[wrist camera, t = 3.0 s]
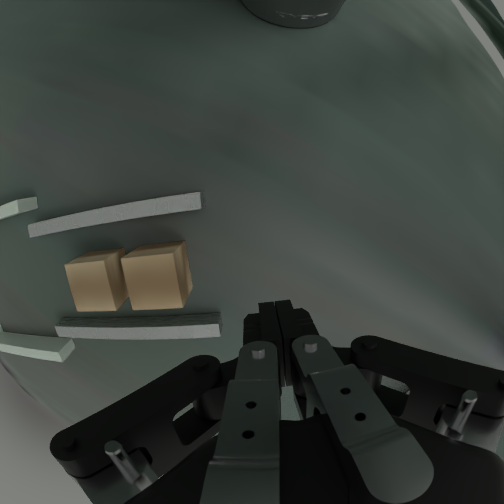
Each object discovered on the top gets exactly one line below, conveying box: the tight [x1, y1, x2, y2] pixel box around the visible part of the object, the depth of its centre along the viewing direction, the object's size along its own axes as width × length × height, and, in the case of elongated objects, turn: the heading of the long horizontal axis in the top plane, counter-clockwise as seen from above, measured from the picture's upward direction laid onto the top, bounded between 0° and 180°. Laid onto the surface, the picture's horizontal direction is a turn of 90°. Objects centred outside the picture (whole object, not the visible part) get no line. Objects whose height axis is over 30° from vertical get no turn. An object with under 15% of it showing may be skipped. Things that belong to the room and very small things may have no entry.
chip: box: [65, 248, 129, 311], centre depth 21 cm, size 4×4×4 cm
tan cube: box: [121, 241, 193, 310], centre depth 21 cm, size 4×4×4 cm
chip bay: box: [0, 196, 75, 362], centre depth 21 cm, size 16×15×3 cm
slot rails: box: [28, 191, 222, 339], centre depth 21 cm, size 11×17×2 cm
